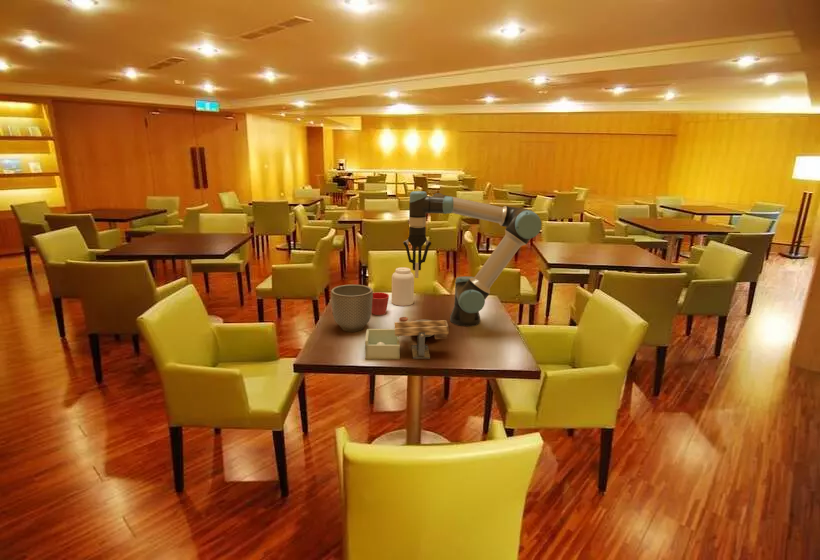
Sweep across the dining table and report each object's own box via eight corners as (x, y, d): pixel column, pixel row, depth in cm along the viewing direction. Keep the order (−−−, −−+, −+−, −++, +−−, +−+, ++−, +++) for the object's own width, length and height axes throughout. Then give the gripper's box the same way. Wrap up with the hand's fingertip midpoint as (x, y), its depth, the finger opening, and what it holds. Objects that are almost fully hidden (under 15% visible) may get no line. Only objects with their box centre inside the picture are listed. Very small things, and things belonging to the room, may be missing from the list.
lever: (443, 323, 204) (443, 311, 202) (448, 339, 186) (448, 326, 184) (394, 325, 203) (394, 313, 202) (395, 341, 185) (394, 328, 184)
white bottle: (389, 305, 250) (389, 270, 245) (393, 298, 262) (394, 265, 257) (411, 307, 248) (412, 271, 243) (415, 300, 260) (416, 266, 255)
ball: (380, 351, 192) (387, 344, 192) (380, 354, 188) (387, 348, 188) (373, 344, 191) (380, 338, 191) (373, 348, 188) (380, 342, 187)
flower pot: (392, 311, 240) (393, 294, 238) (380, 317, 231) (380, 299, 229) (376, 308, 246) (376, 291, 243) (364, 313, 237) (364, 296, 234)
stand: (427, 346, 197) (428, 322, 194) (430, 358, 185) (430, 333, 182) (411, 346, 197) (412, 322, 194) (412, 358, 185) (413, 333, 182)
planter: (336, 320, 226) (335, 283, 221) (375, 321, 226) (375, 284, 221) (327, 335, 207) (326, 295, 202) (370, 336, 207) (370, 296, 202)
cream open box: (399, 346, 197) (399, 329, 195) (399, 359, 184) (399, 341, 182) (366, 346, 196) (366, 329, 194) (365, 359, 184) (365, 340, 182)
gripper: (431, 225, 207) (429, 275, 213) (402, 225, 206) (402, 275, 212) (432, 227, 199) (431, 279, 206) (403, 227, 199) (402, 279, 205)
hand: (416, 277), depth 209 cm, fingers closed
